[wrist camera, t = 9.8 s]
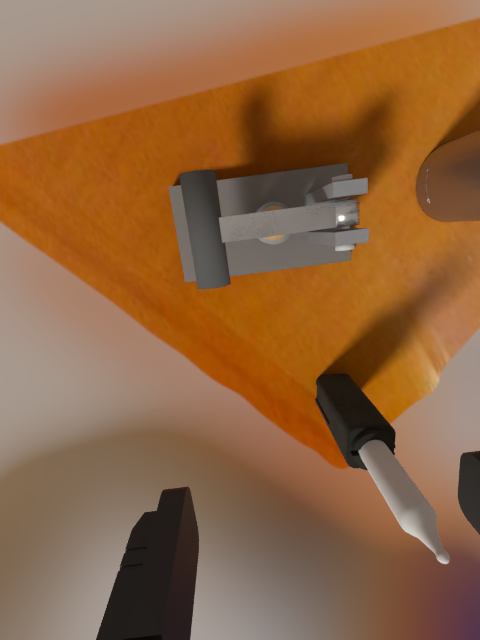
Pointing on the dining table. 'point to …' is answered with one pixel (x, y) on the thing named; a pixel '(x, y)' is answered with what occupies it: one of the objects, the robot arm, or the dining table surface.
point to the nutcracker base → (246, 204)
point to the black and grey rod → (376, 455)
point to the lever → (244, 225)
